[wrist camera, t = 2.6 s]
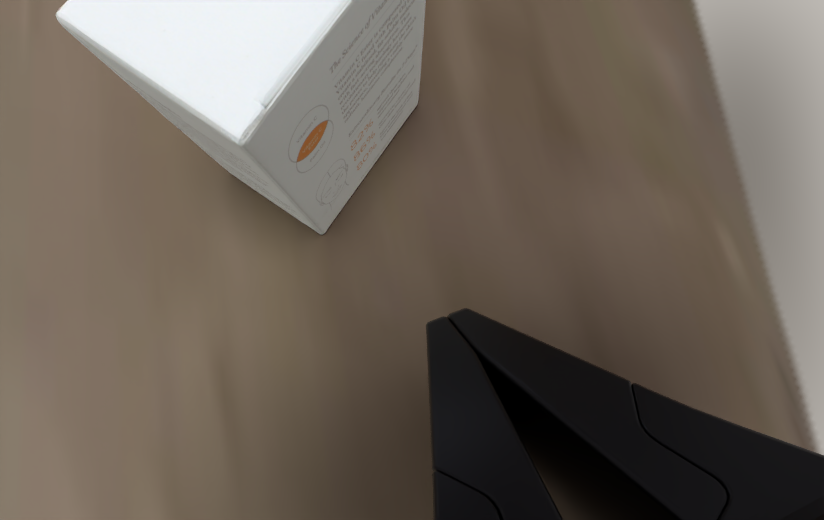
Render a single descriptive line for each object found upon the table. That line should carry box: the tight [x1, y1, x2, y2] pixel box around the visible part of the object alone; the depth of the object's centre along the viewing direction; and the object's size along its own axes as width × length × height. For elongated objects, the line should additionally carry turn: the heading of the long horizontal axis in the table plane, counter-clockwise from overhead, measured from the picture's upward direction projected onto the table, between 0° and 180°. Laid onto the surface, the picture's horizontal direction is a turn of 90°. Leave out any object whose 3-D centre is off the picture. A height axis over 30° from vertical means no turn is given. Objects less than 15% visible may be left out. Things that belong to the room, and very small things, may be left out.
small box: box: [56, 0, 426, 235], centre depth 15 cm, size 8×6×10 cm
